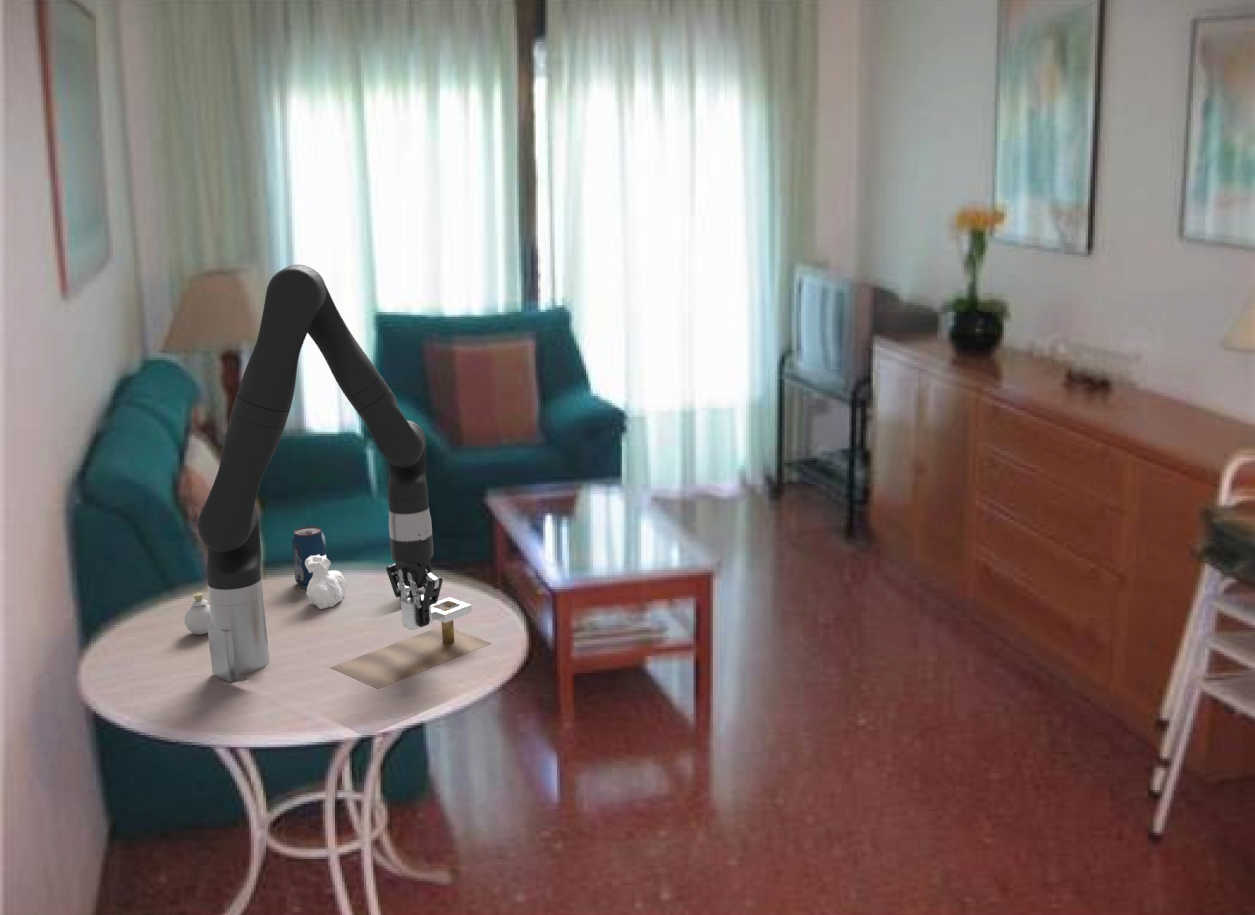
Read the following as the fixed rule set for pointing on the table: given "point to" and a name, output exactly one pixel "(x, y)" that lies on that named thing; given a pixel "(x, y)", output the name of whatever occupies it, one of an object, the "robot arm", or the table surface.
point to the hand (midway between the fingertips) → (417, 622)
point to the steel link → (433, 611)
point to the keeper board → (410, 656)
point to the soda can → (306, 551)
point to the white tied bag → (324, 583)
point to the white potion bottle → (198, 615)
